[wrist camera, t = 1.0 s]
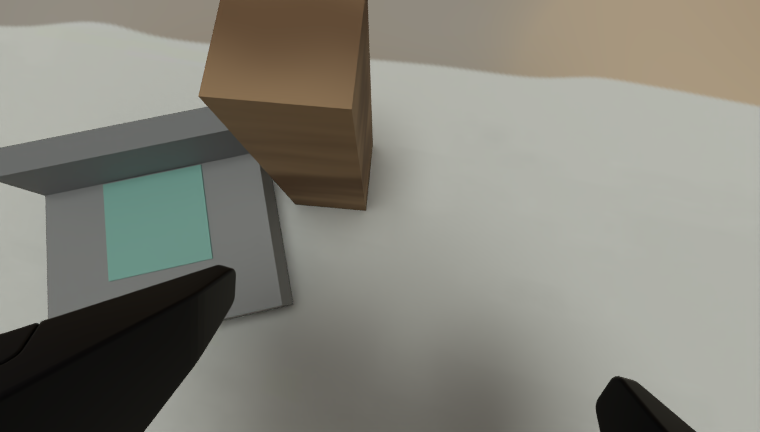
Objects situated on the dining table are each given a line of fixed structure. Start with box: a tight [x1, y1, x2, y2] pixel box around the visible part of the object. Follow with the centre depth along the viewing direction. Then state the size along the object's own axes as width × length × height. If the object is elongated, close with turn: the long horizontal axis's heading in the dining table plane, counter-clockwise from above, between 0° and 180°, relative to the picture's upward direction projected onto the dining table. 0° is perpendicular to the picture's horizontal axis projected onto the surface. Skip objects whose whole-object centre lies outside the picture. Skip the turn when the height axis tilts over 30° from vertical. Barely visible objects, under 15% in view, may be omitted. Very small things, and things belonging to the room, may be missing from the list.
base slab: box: [0, 107, 293, 320], centre depth 20 cm, size 12×12×6 cm
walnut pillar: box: [199, 0, 373, 211], centre depth 17 cm, size 4×4×12 cm
